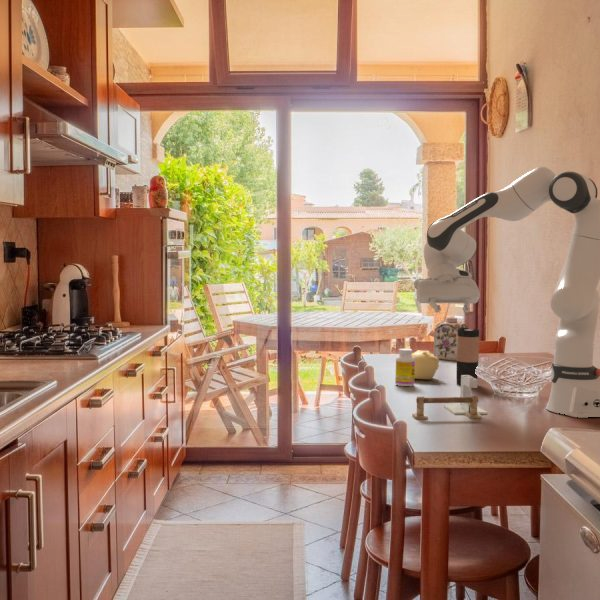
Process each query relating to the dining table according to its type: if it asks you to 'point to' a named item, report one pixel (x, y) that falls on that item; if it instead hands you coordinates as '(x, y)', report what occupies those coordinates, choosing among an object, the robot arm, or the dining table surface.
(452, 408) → the tile
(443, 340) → the decorative jar
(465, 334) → the travel mug
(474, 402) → the rail stand
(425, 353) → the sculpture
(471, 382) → the c link
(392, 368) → the dining table surface
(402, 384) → the supplement bottle
